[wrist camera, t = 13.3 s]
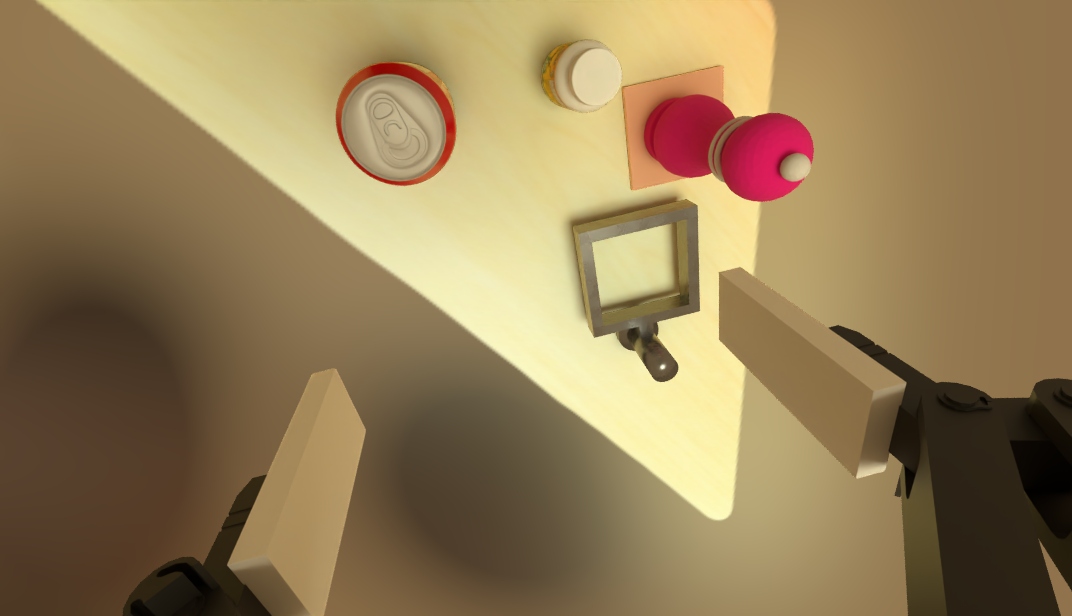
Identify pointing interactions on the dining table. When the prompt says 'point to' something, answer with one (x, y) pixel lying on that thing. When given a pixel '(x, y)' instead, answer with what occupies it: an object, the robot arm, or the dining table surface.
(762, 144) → the pepper mill
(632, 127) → the terracotta tile
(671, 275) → the dining table surface
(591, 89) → the supplement bottle
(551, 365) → the dining table surface
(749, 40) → the dining table surface
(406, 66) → the soda can
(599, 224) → the square frame with post
